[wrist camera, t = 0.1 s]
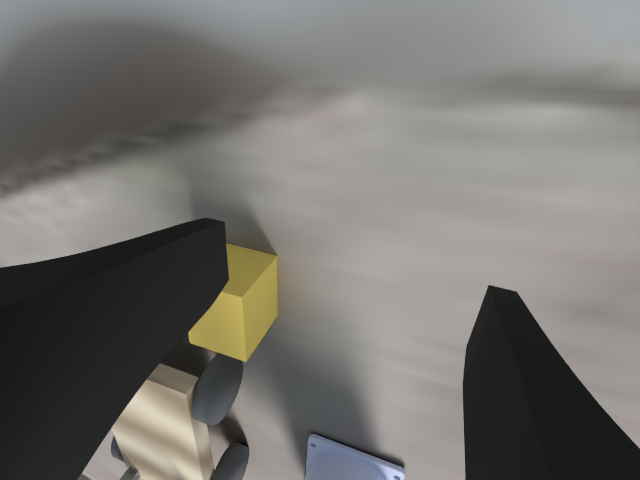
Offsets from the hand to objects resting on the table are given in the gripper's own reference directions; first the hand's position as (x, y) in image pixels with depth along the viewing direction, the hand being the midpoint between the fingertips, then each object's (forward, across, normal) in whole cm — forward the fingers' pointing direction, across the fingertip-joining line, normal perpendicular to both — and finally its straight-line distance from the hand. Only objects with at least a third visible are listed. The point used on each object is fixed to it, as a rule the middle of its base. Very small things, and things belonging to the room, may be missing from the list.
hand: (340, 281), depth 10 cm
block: (+10, +9, +10) cm, 16 cm away
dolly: (+10, +16, +25) cm, 31 cm away
